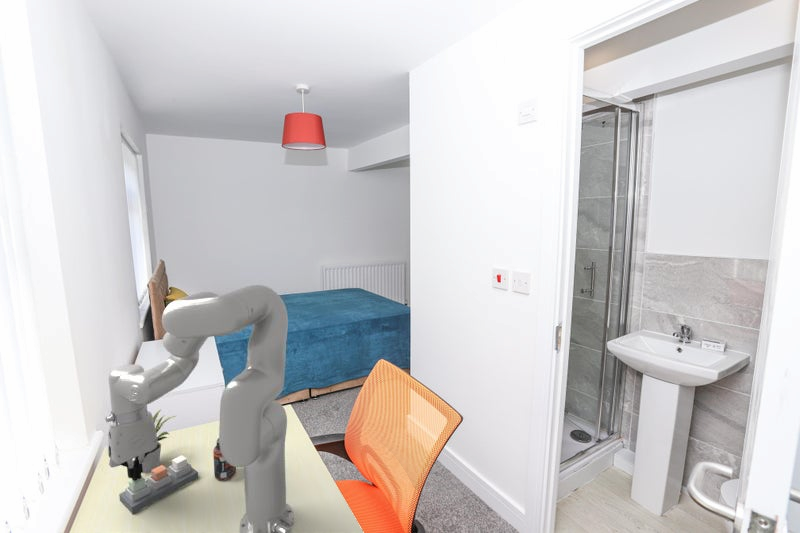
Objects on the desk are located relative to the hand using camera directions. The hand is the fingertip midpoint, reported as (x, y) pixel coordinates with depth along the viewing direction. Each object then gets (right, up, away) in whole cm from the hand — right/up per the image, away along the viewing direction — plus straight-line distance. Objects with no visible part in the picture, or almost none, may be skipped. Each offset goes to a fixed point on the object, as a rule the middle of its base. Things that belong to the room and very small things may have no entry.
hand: (135, 477), depth 105 cm
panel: (+3, -6, +5) cm, 9 cm away
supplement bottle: (+19, -6, +12) cm, 23 cm away
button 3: (+7, -2, +9) cm, 12 cm away
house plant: (-5, -5, +16) cm, 17 cm away
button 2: (+3, -3, +5) cm, 7 cm away
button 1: (0, -3, 0) cm, 3 cm away
